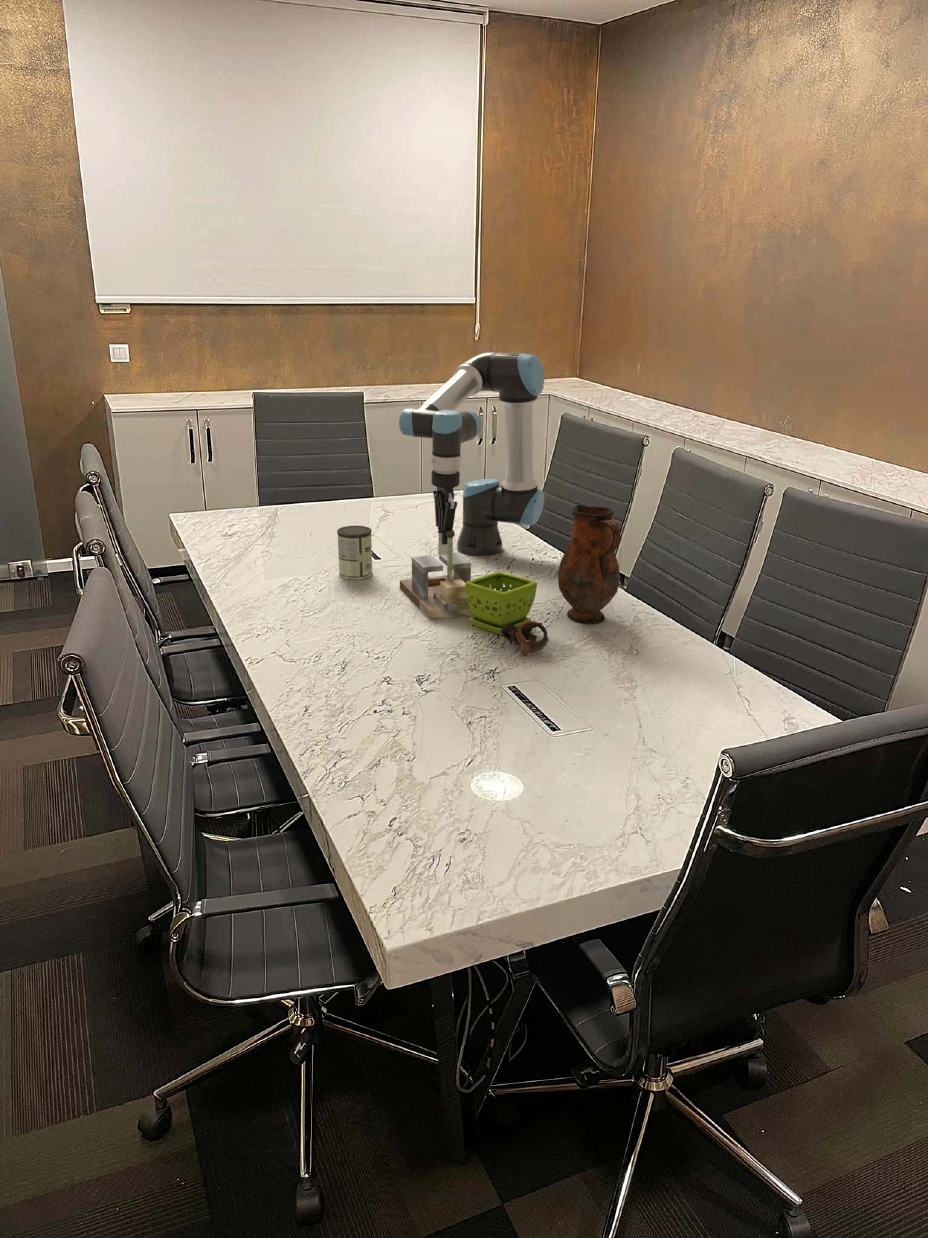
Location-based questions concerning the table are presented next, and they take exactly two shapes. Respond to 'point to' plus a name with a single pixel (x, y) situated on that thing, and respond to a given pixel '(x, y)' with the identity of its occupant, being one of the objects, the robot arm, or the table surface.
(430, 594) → the bench vise
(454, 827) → the table surface
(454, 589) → the block
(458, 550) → the robot arm
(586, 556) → the pitcher
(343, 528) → the coffee can
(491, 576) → the flower pot
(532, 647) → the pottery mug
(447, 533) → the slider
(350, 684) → the table surface
